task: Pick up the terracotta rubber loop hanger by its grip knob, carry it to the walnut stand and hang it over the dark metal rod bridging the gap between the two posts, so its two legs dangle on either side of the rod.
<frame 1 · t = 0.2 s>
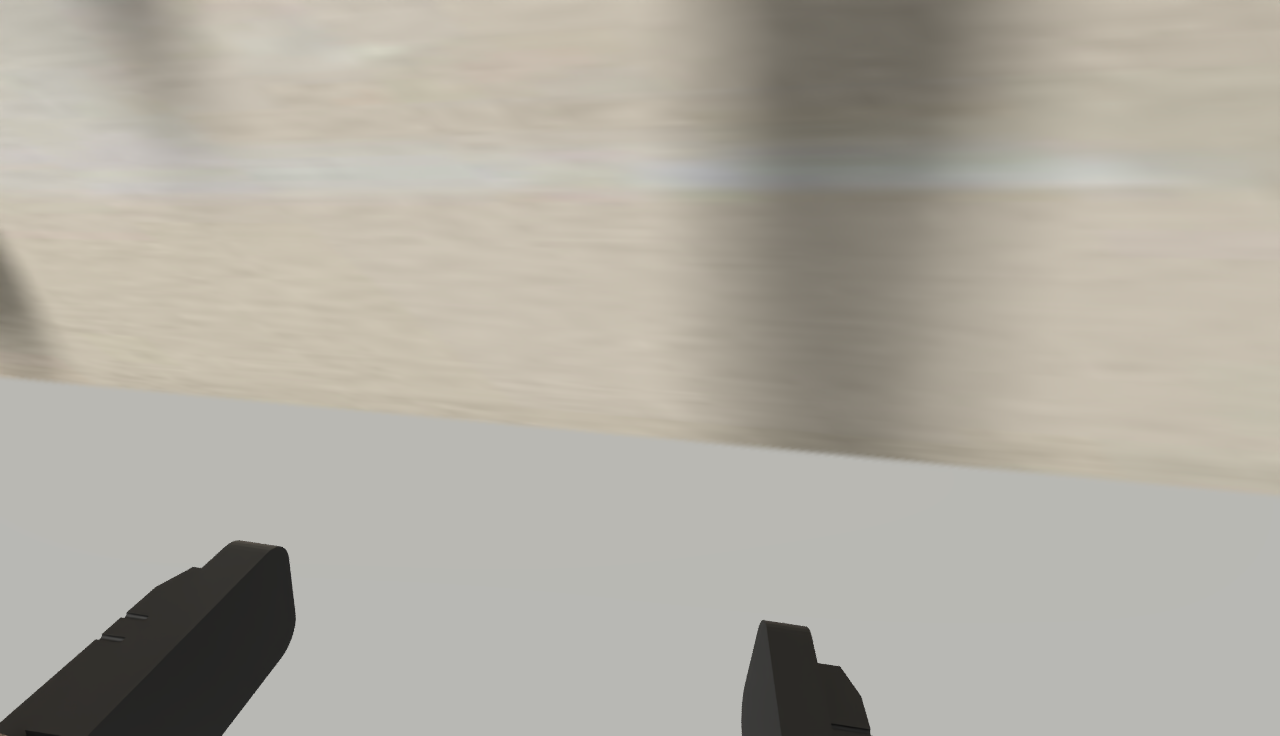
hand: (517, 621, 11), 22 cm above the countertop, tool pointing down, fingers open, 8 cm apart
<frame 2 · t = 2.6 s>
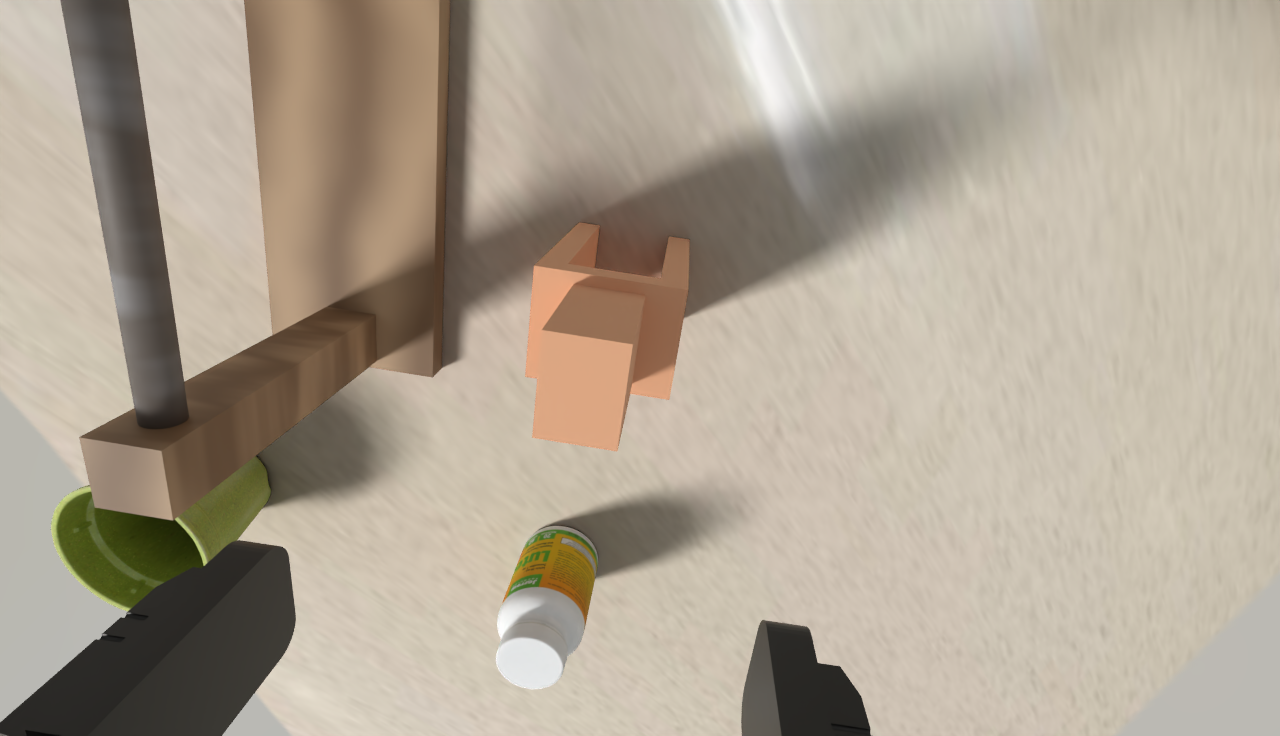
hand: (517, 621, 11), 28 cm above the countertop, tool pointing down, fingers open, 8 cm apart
loop hanger: (628, 273, 37), on the countertop
supplement bottle: (562, 553, 45), on the countertop
hook stand: (358, 123, 35), on the countertop
plant pot: (232, 475, 45), on the countertop
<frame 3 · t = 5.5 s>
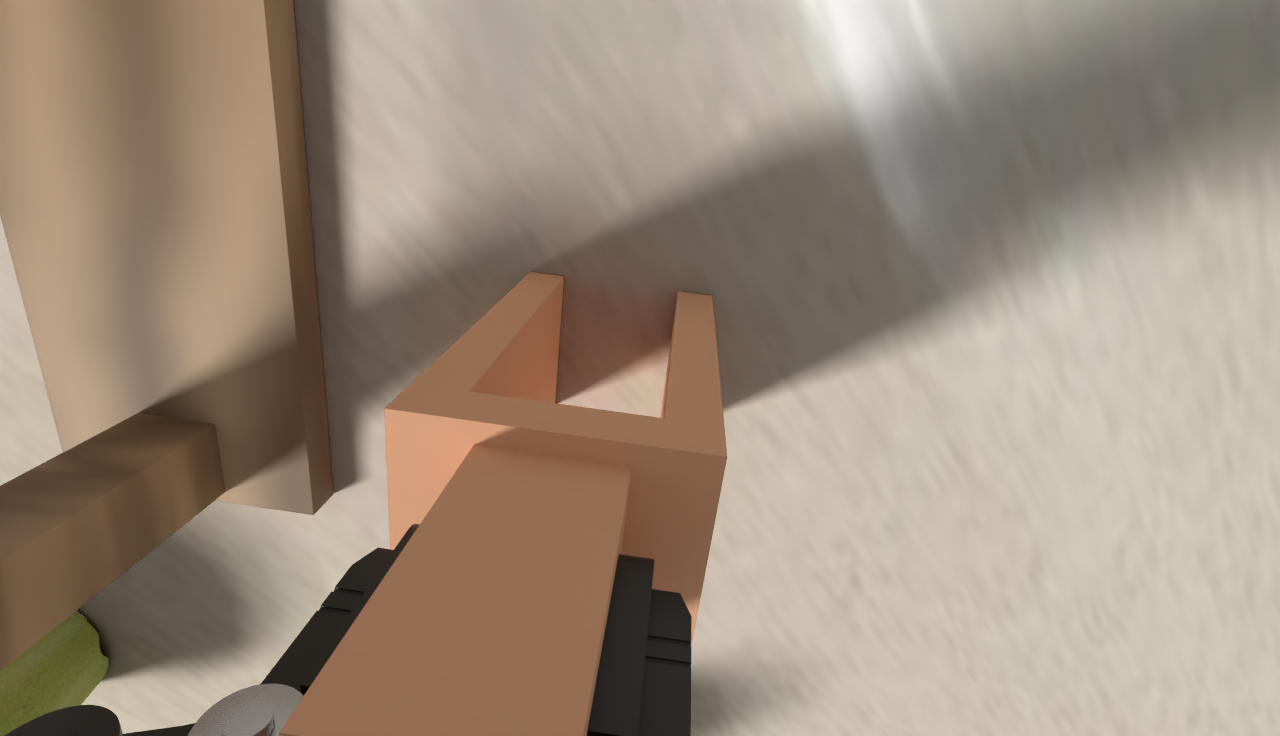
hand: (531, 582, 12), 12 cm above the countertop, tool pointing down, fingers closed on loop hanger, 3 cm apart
loop hanger: (613, 350, 23), on the countertop, touching gripper
hook stand: (159, 120, 21), on the countertop
plant pot: (54, 636, 31), on the countertop
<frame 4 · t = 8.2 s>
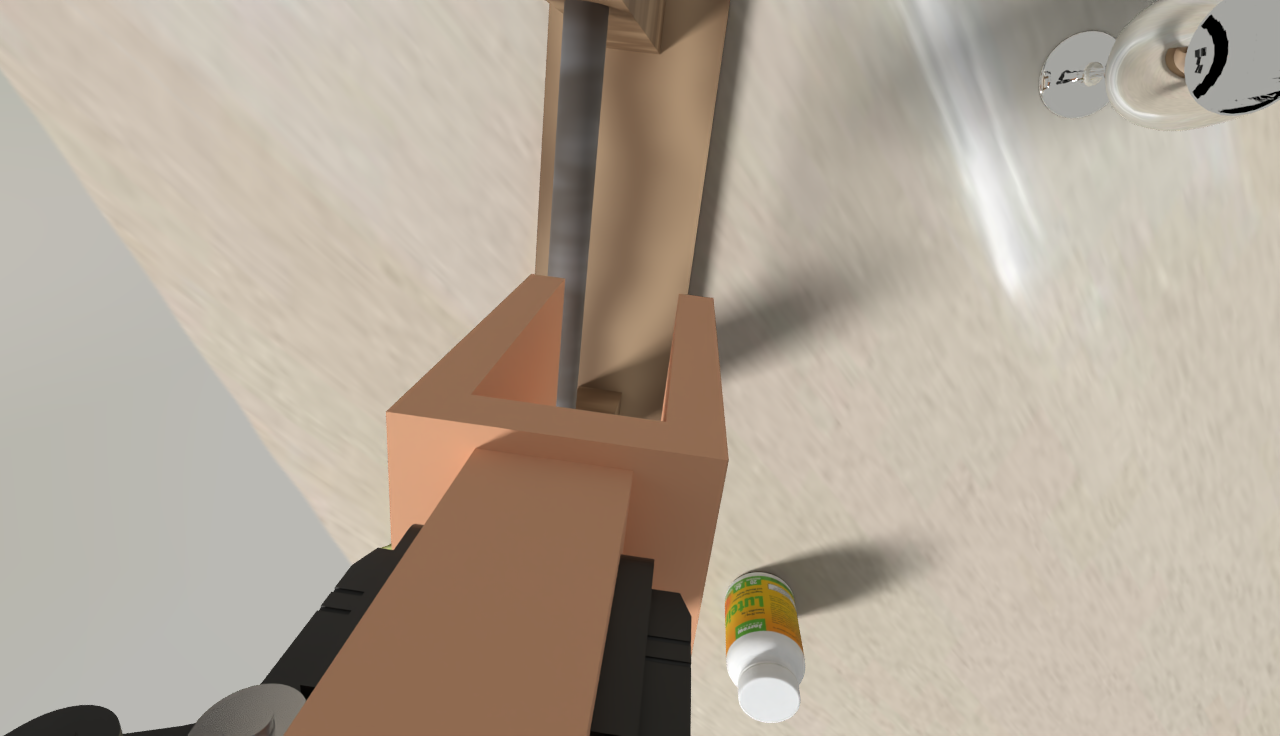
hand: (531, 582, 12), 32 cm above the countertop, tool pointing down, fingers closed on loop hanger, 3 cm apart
loop hanger: (614, 352, 23), point 20 cm above the countertop, touching gripper
supplement bottle: (758, 596, 50), on the countertop
wineglass: (1079, 76, 36), on the countertop
hook stand: (618, 232, 41), on the countertop
when the fingers open (21 cm above the countertop, at t = 10.9 s): loop hanger drops 1 cm, resting on hook stand.
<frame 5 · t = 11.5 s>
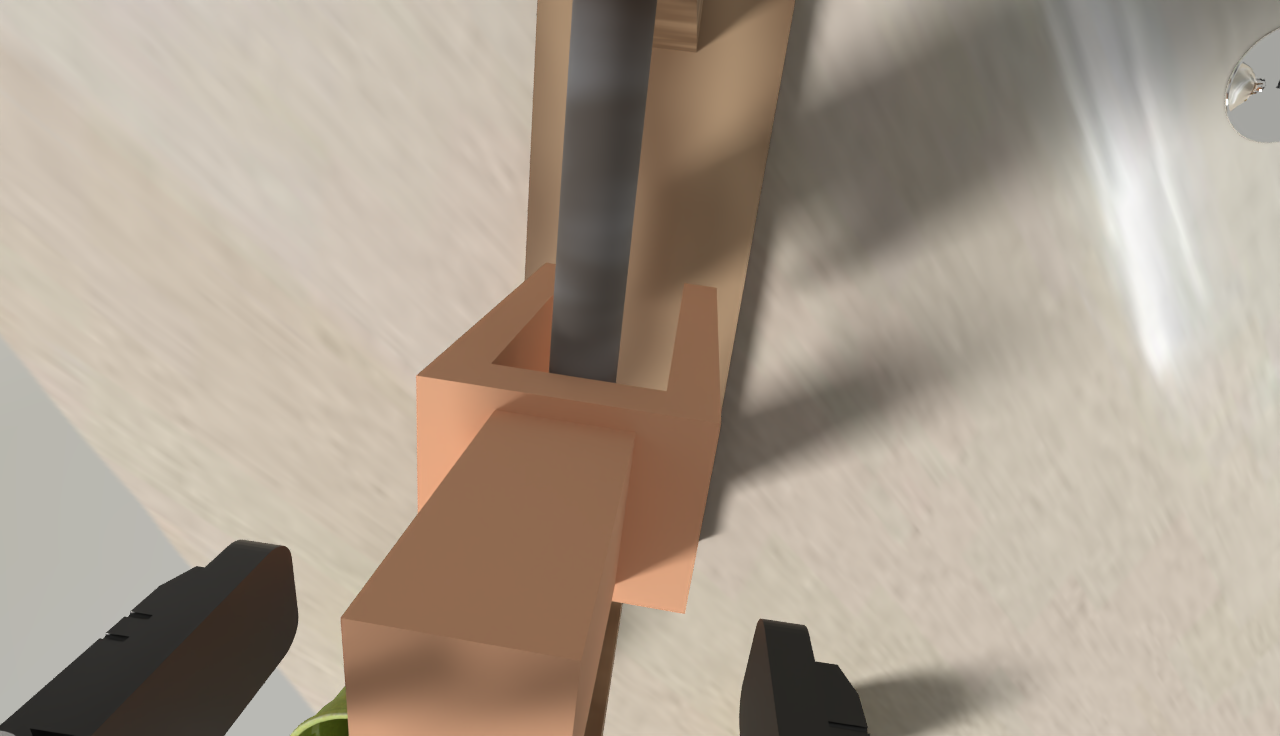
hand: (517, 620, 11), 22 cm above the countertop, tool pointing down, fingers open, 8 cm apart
loop hanger: (623, 338, 24), point 7 cm above the countertop, touching hook stand
hook stand: (633, 291, 31), on the countertop
plant pot: (437, 647, 41), on the countertop
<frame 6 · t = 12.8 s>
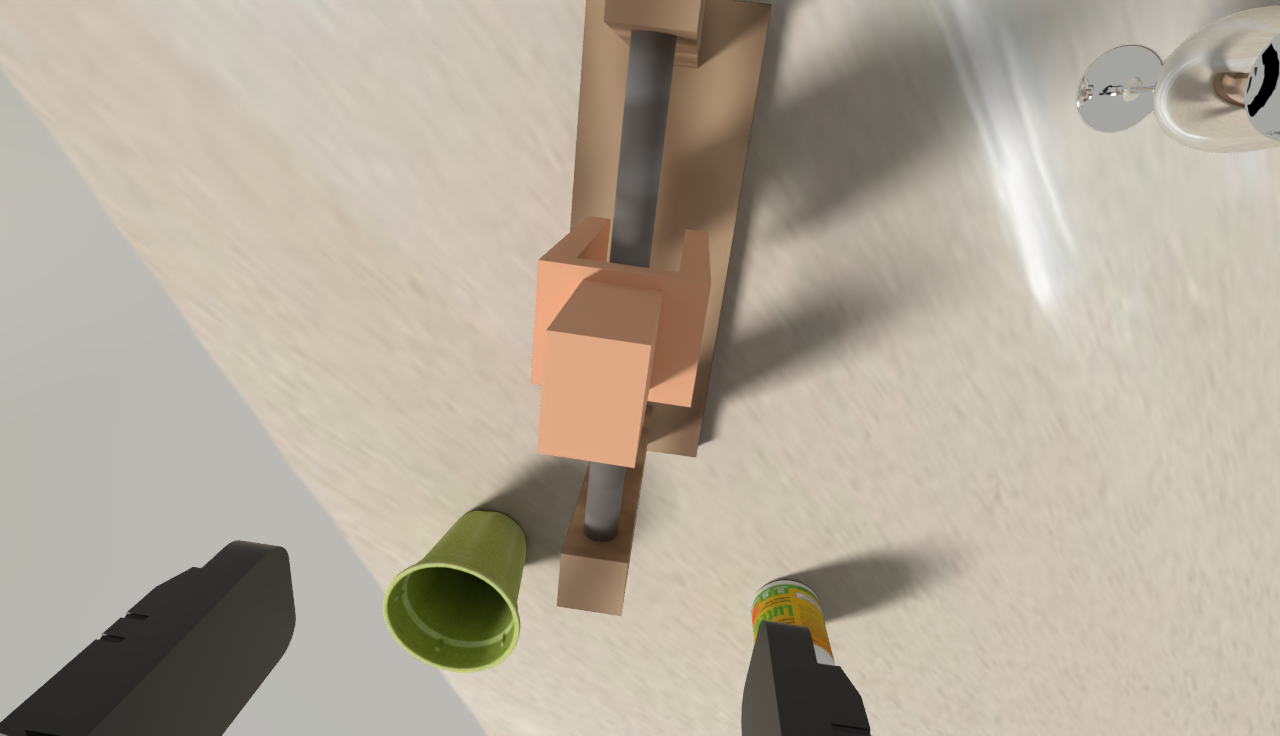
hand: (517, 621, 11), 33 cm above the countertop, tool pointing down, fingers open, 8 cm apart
loop hanger: (642, 270, 35), point 7 cm above the countertop, touching hook stand
supplement bottle: (784, 603, 51), on the countertop
wineglass: (1117, 90, 36), on the countertop
hook stand: (650, 246, 41), on the countertop
plant pot: (490, 539, 51), on the countertop
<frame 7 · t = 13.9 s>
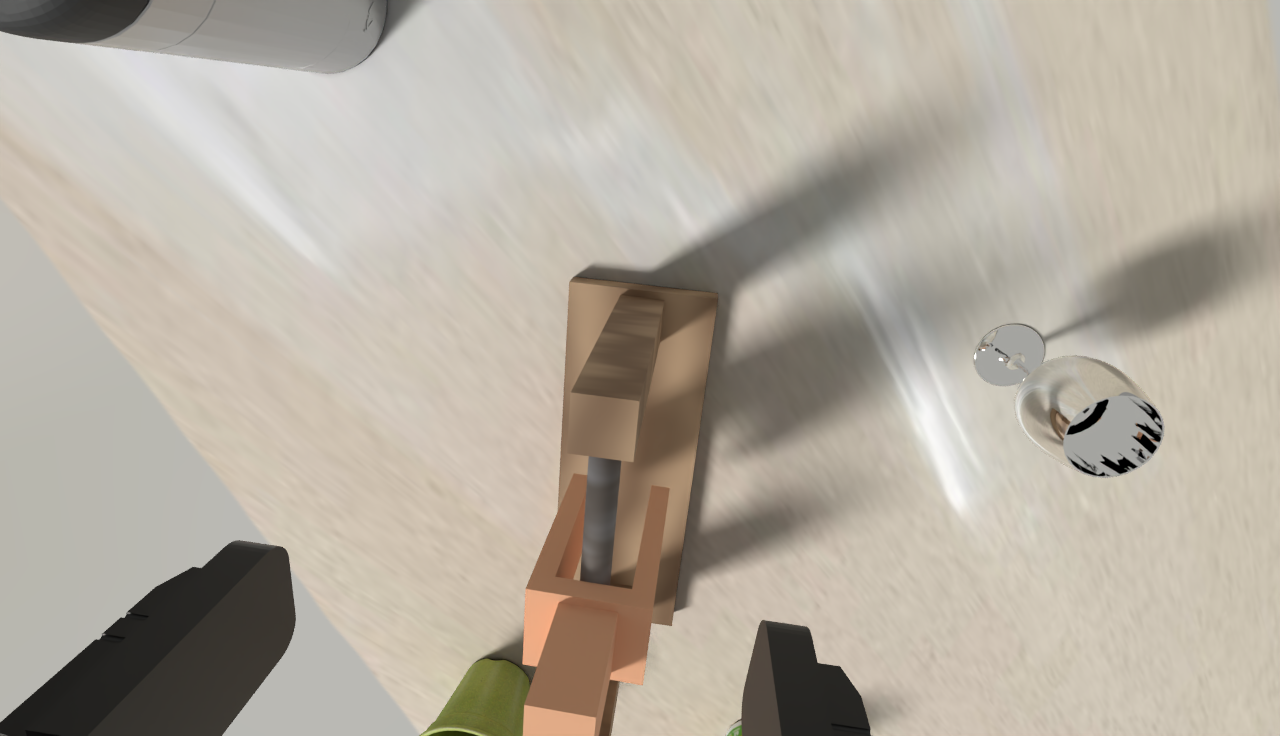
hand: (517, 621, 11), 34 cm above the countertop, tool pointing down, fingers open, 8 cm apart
loop hanger: (618, 512, 43), point 7 cm above the countertop, touching hook stand
supplement bottle: (754, 735, 58), on the countertop
wineglass: (1007, 354, 43), on the countertop
hook stand: (628, 461, 49), on the countertop
plant pot: (499, 680, 59), on the countertop
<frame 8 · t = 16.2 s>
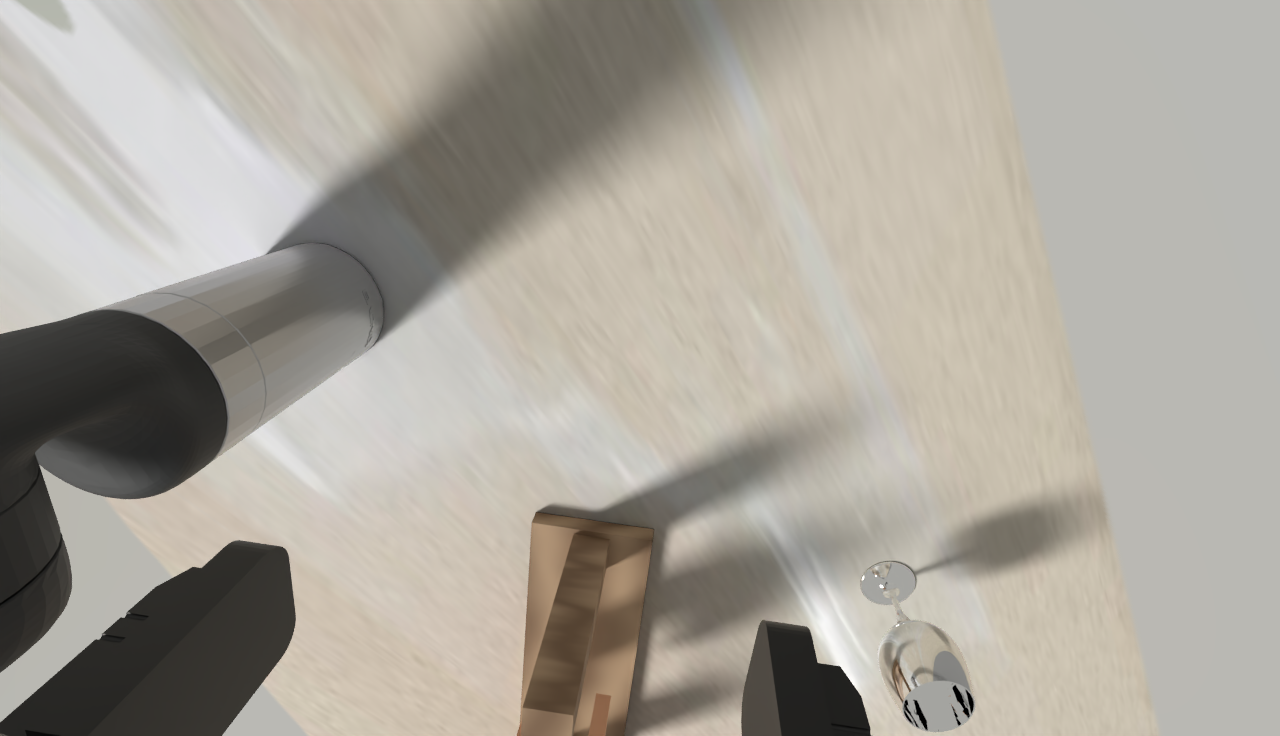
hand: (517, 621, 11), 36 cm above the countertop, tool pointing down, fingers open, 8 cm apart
loop hanger: (569, 711, 52), point 7 cm above the countertop, touching hook stand
wineglass: (887, 581, 53), on the countertop
hook stand: (581, 646, 58), on the countertop
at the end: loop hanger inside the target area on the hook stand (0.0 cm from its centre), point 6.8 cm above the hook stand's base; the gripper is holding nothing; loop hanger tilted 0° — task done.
